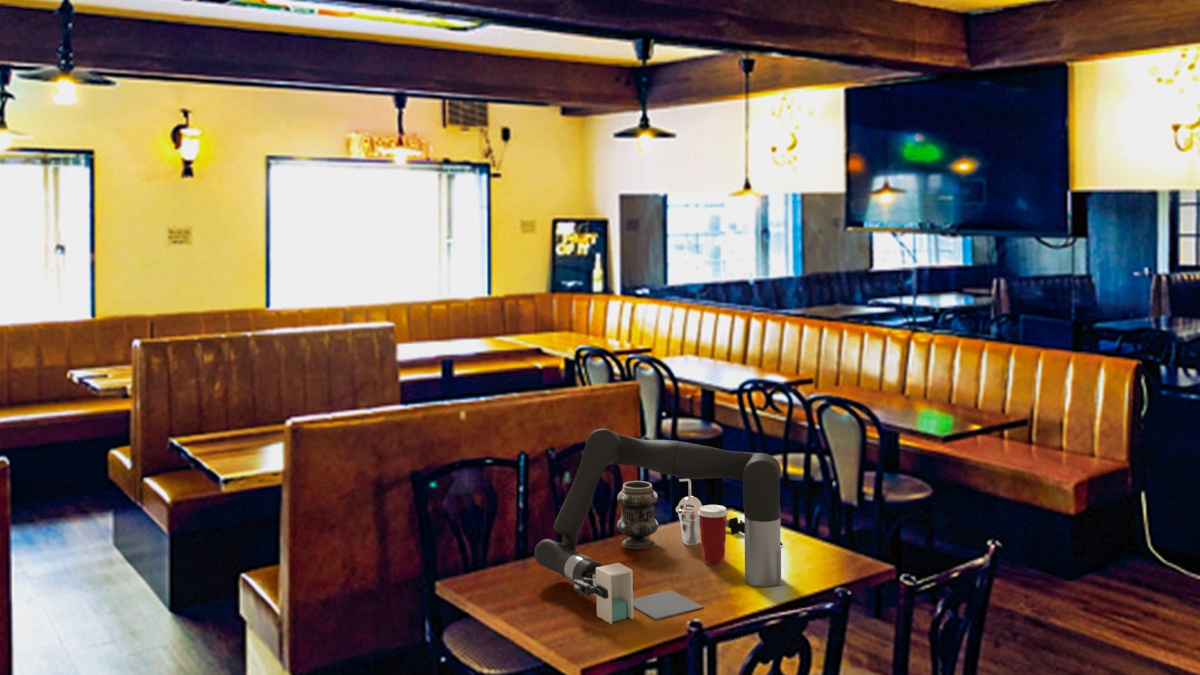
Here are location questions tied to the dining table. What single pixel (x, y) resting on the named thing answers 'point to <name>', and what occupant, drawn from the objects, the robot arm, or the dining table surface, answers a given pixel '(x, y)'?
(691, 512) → the cup with straw
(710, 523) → the coffee cup
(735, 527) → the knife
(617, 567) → the cream rectangular box
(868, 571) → the dining table surface
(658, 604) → the mat
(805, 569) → the dining table surface
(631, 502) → the apothecary jar
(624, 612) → the block
